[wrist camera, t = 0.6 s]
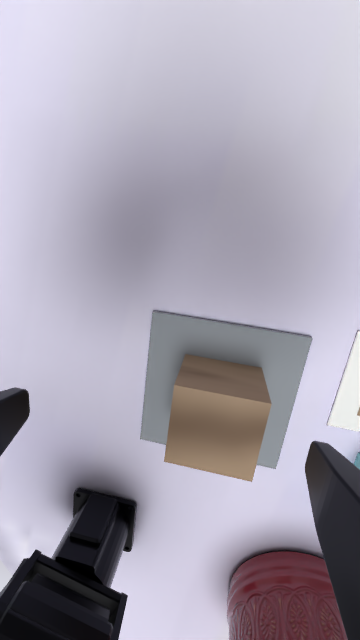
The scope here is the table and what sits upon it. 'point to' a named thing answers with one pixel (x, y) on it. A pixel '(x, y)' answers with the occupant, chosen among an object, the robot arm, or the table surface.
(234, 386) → the walnut block
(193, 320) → the mat
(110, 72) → the table surface
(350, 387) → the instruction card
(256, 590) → the canister
